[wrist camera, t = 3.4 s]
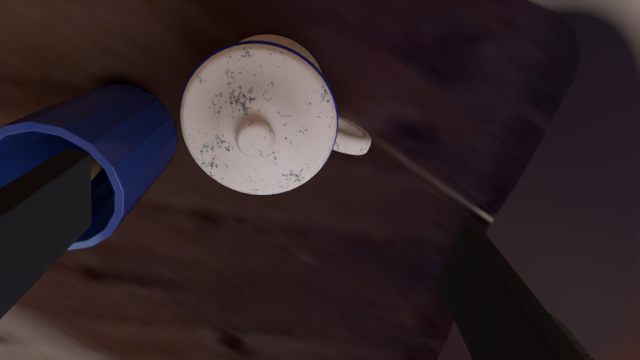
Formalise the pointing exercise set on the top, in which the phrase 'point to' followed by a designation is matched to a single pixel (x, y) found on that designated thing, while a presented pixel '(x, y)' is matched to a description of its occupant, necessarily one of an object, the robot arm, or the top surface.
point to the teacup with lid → (264, 116)
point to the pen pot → (97, 148)
